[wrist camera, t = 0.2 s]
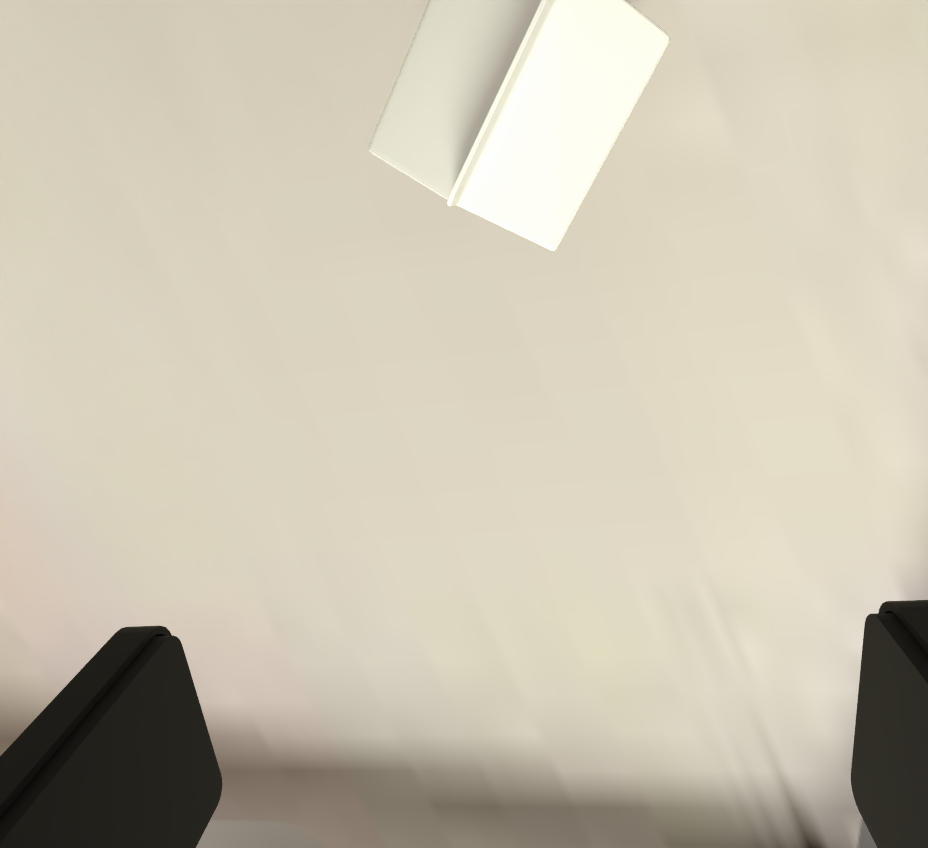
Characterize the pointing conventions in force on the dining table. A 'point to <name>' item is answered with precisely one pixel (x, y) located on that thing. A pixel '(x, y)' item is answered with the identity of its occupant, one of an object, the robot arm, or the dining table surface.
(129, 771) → the robot arm
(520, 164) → the milk
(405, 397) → the dining table surface
